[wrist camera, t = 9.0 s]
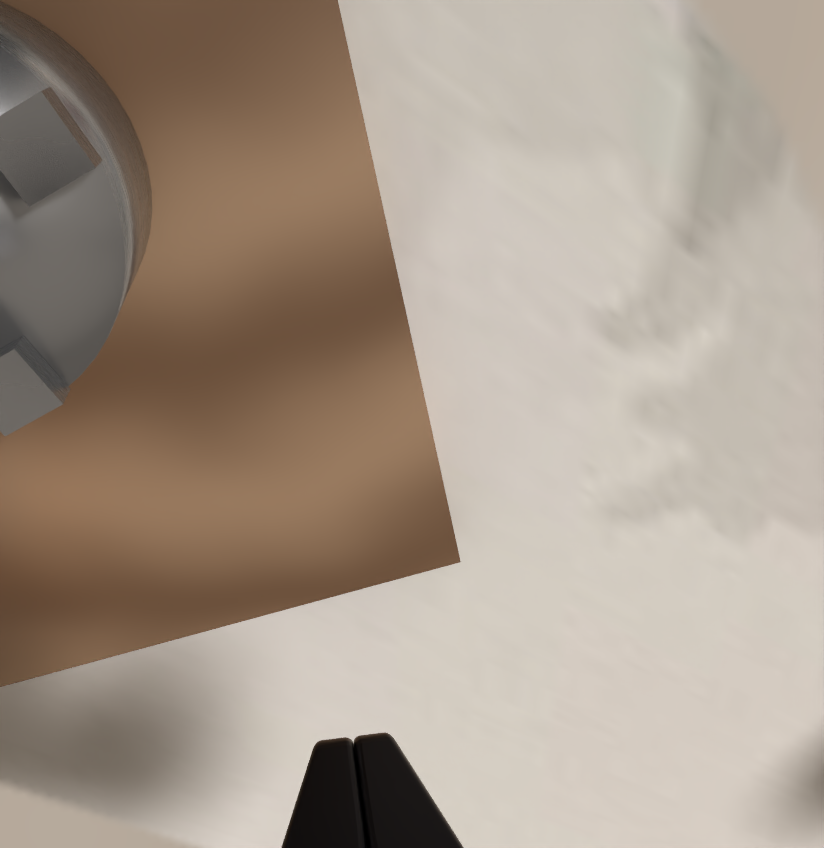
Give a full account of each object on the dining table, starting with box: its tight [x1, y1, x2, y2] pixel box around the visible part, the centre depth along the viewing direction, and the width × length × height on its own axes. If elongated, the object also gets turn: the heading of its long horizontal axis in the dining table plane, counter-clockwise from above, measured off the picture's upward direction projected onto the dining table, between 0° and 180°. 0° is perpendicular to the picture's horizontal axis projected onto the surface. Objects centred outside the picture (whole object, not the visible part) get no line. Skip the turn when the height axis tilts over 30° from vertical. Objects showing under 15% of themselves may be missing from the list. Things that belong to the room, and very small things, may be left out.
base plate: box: [0, 0, 460, 687], centre depth 18 cm, size 18×14×1 cm
